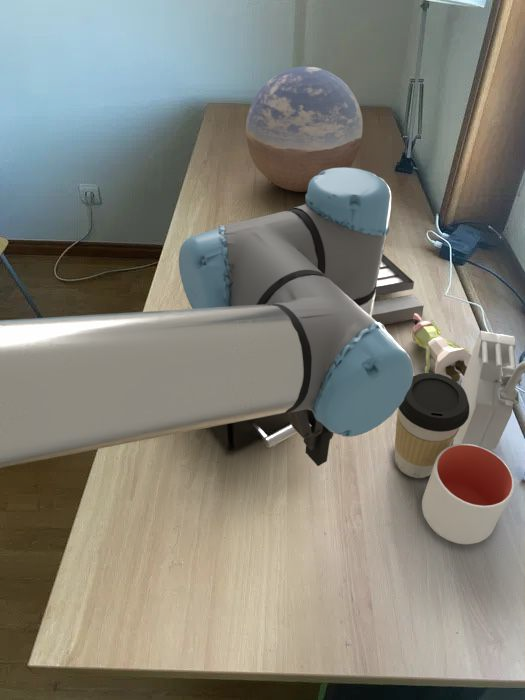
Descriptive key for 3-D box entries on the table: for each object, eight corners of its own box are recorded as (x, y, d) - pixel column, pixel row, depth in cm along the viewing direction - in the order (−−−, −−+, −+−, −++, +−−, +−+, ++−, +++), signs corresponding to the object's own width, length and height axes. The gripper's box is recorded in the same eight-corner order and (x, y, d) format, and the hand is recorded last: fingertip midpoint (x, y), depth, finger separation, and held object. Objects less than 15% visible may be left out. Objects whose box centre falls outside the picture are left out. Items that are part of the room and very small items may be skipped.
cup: (415, 483, 84) (429, 441, 77) (483, 487, 83) (503, 445, 77) (425, 546, 76) (442, 505, 70) (500, 550, 76) (524, 510, 69)
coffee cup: (445, 440, 90) (469, 374, 80) (449, 493, 83) (476, 427, 72) (383, 432, 91) (398, 365, 81) (382, 482, 84) (399, 416, 74)
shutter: (231, 280, 131) (271, 353, 106) (228, 252, 127) (268, 322, 102) (358, 253, 137) (424, 316, 112) (359, 226, 133) (427, 285, 108)
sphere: (312, 154, 170) (320, 45, 150) (378, 194, 152) (396, 75, 131) (226, 177, 158) (222, 62, 138) (286, 224, 140) (290, 98, 120)
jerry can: (487, 486, 83) (545, 365, 66) (452, 479, 84) (501, 358, 67) (484, 411, 94) (533, 290, 77) (453, 405, 95) (495, 285, 78)
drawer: (320, 436, 89) (323, 407, 84) (253, 473, 84) (253, 444, 79) (249, 361, 102) (248, 332, 97) (187, 390, 96) (184, 360, 92)
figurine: (485, 374, 98) (438, 326, 109) (481, 347, 93) (433, 299, 104) (441, 398, 98) (399, 346, 109) (435, 372, 93) (391, 321, 104)
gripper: (357, 281, 64) (335, 418, 80) (262, 321, 59) (259, 459, 74) (404, 316, 60) (371, 454, 75) (306, 362, 54) (293, 500, 70)
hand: (316, 456), depth 75 cm, fingers closed
